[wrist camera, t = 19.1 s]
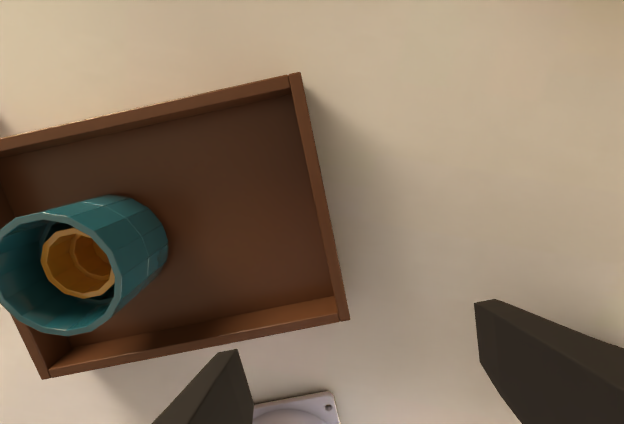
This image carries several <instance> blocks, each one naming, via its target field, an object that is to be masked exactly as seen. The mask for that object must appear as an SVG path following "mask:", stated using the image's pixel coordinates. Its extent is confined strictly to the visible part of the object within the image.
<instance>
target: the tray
mask: <svg viewBox="0 0 624 424" xmlns="http://www.w3.org/2000/svg"><path fill="white" fill-rule="evenodd" d="M108 194H113V195H119V196H124V197H130V198H132V199H134V200H136V201H138V202H139V203H141V204H143V205H144V206H146V207H148V208H149V209H150V210H151V211H152V212H153V213H154V214H155V215H156V216H157V218H158V219H159V220H160V222H161V223H162V225H163V227H164V230H165V232H166V236H167V239H168V255H167V261H166V263H165V265H164V267H163V268H162V270H161V272H160V274H159V275H158V276H157V277H156V278H155V279H154V280H153V281H152V282H151V283H150V284H148V285H147V286H146V287H145V288H144V289H143V290H142V291H141V292H139V293H138V294H137V295H136V296H135V297H134V298H133V299H132V300H131V301H129V302H128V303H127V304H126V305H125V306H124V307H123V308H122V309H120V310H119V311H118V312H117V313H116V314H115V315H114V316H113V317H112V318H110V319H109V320H108V321H106V322H105V323H103V324H102V325H100V326H99V327H98V328H96V329H95V330H93V331H91V332H87V333H82V334H77V335H72V336H61V335H54V334H48V333H42V332H39V331H37V330H35V329H33V328H31V327H29V326H27V325H25V324H24V323H22V322H20V321H18V320H17V319H16V318H15V317H14V316H12V315H11V316H12V318H13V320H14V322H15V324H16V327H17V329H18V331H19V333H20V335H21V337H22V339H23V341H24V343H25V345H26V347H27V350H28V352H29V354H30V356H31V358H32V360H33V362H34V364H35V366H36V368H37V371H38V373H39V375H40V377H41V379H42V380H43V379H49V378H54V377H59V376H64V375H69V374H74V373H80V372H85V371H90V370H95V369H100V368H105V367H110V366H115V365H121V364H126V363H131V362H136V361H141V360H146V359H151V358H156V357H162V356H167V355H172V354H177V353H182V352H187V351H192V350H197V349H203V348H208V347H213V346H218V345H223V344H228V343H233V342H238V341H244V340H249V339H254V338H259V337H264V336H269V335H274V334H280V333H285V332H290V331H295V330H300V329H305V328H310V327H315V326H321V325H326V324H331V323H336V322H340V321H346V320H350V314H349V309H348V305H347V300H346V295H345V290H344V285H343V280H342V275H341V270H340V265H339V260H338V255H337V250H336V245H335V240H334V235H333V230H332V225H331V220H330V216H329V211H328V206H327V201H326V196H325V191H324V186H323V181H322V176H321V171H320V166H319V161H318V156H317V151H316V146H315V141H314V136H313V131H312V126H311V122H310V117H309V112H308V107H307V102H306V97H305V92H304V87H303V82H302V77H301V73H300V72H296V73H292V74H289V75H283V76H278V77H274V78H269V79H265V80H260V81H256V82H251V83H247V84H243V85H238V86H234V87H229V88H225V89H220V90H216V91H211V92H207V93H202V94H198V95H193V96H189V97H184V98H180V99H175V100H171V101H166V102H162V103H157V104H153V105H148V106H144V107H139V108H135V109H130V110H126V111H121V112H117V113H112V114H108V115H103V116H99V117H94V118H90V119H85V120H81V121H76V122H72V123H67V124H63V125H58V126H54V127H49V128H45V129H40V130H36V131H31V132H27V133H22V134H18V135H13V136H9V137H4V138H0V229H1V228H3V227H4V226H5V225H7V224H8V223H9V222H10V221H12V220H13V219H14V218H16V217H20V216H24V215H28V214H31V213H35V212H39V211H43V210H47V209H51V208H55V207H59V206H63V205H66V204H70V203H74V202H78V201H82V200H86V199H90V198H94V197H99V196H103V195H108Z"/></svg>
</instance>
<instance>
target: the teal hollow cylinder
mask: <svg viewBox="0 0 624 424" xmlns="http://www.w3.org/2000/svg"><path fill="white" fill-rule="evenodd" d="M70 226H72V227H74V228H76V229H78V230H79V231H81V232H83V233H85V234H87V235H88V236H90V237H91V238H92V239H93V240H94V241H95V243H96V244H97V245H98V246H99V247H100V248H101V249H102V250H103V251H104V253H105V254H106V255H107V257H108V260H109V263H110V265H111V268H112V270H113V273H114V276H115V283H114V287H112V288H111V289H110V290H108V291H107V292H105V293H104V294H103V295H100V296H95V297H90V298H85V299H82V298H78V297H75V296H71V295H67V294H64V293H63V292H61V291H60V290H59V289H58V288H57V287H56V286H54V285H53V284H52V283H51V282H50V281H49V280H48V279H47V277H46V274H45V272H44V270H43V267H42V265H41V255H42V248H43V244H44V243H45V242H46V241H47V240H48V239H49V238H50V237H51V236H52V235H53V234H54V233H55V232H56V231H58V230H61V229H64V228H67V227H70ZM167 255H168V239H167V236H166V232H165V230H164V227H163V225H162V223H161V222H160V220H159V219H158V218H157V216H156V215H155V214H154V213H153V212H152V211H151V210H150V209H149V208H148V207H146V206H144V205H143V204H141V203H139V202H138V201H136V200H134V199H132V198H130V197H124V196H119V195H113V194H108V195H103V196H99V197H94V198H90V199H86V200H82V201H78V202H74V203H70V204H66V205H63V206H59V207H55V208H51V209H47V210H43V211H39V212H35V213H31V214H28V215H24V216H20V217H16V218H14V219H13V220H12V221H10V222H9V223H8V224H7V225H5V226H4V227H3V228H1V229H0V304H1V305H2V306H3V307H4V308H5V309H6V310H7V311H8V312H9V313H10V314H11V315H12V316H14V317H15V318H16V319H17V320H18V321H20V322H22V323H24V324H25V325H27V326H29V327H31V328H33V329H35V330H37V331H39V332H42V333H48V334H54V335H61V336H72V335H77V334H82V333H87V332H91V331H93V330H95V329H96V328H98V327H99V326H100V325H102V324H103V323H105V322H106V321H108V320H109V319H110V318H112V317H113V316H114V315H115V314H116V313H117V312H118V311H119V310H120V309H122V308H123V307H124V306H125V305H126V304H127V303H128V302H129V301H131V300H132V299H133V298H134V297H135V296H136V295H137V294H138V293H139V292H141V291H142V290H143V289H144V288H145V287H146V286H147V285H148V284H150V283H151V282H152V281H153V280H154V279H155V278H156V277H157V276H158V275H159V274H160V272H161V270H162V268H163V267H164V265H165V263H166V261H167Z"/></svg>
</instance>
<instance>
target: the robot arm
mask: <svg viewBox="0 0 624 424" xmlns="http://www.w3.org/2000/svg"><path fill="white" fill-rule="evenodd" d="M474 309H475V319H476V329H477V339H478V349H479V359H480V363H481V365H482V366H483V368H484V370H485V371H486V373H487V375H488V376H489V378H490V380H491V381H492V383H493V385H494V386H495V388H496V389H497V391H498V392H499V394H500V396H501V397H502V398H503V400H504V401H505V402H506V404H507V405H508V406H509V407H510V409H511V410H512V411H513V413H514V414H515V415H516V417H517V418H518V419H519V420H520V422H521V423H522V424H624V349H623V348H620V347H617V346H614V345H612V344H609V343H606V342H603V341H601V340H598V339H595V338H593V337H590V336H587V335H585V334H582V333H580V332H577V331H574V330H572V329H569V328H567V327H564V326H562V325H559V324H557V323H554V322H552V321H550V320H547V319H545V318H542V317H540V316H537V315H535V314H532V313H530V312H528V311H525V310H523V309H520V308H518V307H515V306H513V305H510V304H508V303H505V302H502V301H499V300H496V299H492V300H487V301H481V302H476V303H474ZM326 405H330V406H326ZM152 424H340V421H339V416H338V412H337V408H336V403H335V399H334V395H333V394H332V393H331V392H329V391H325V392H319V393H314V394H309V395H303V396H298V397H293V398H287V399H282V400H277V401H272V402H266V403H261V404H256V405H254V403H253V399H252V396H251V393H250V389H249V386H248V383H247V379H246V376H245V373H244V369H243V366H242V363H241V359H240V356H239V353H238V349H234V350H229V351H224V352H219V353H217V354H216V355H215V356H214V357H213V358H212V359H211V360H210V361H209V362H208V363H207V364H206V365H205V367H204V368H203V369H202V370H201V371H200V372H199V373H198V374H197V375H196V377H195V378H194V379H193V380H192V381H191V382H190V383H189V384H188V385H187V386H186V388H185V389H184V390H183V391H182V392H181V393H180V394H179V395H178V396H177V397H176V398H175V400H174V401H173V402H172V403H171V404H170V405H169V406H168V407H167V408H166V409H165V410H164V411H163V412H162V413H161V414H160V415H159V416H158V417H157V418H156V420H155V421H154V422H153V423H152Z"/></svg>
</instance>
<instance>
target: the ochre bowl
mask: <svg viewBox="0 0 624 424" xmlns="http://www.w3.org/2000/svg"><path fill="white" fill-rule="evenodd" d="M41 265H42V267H43V270H44V272H45V274H46V277H47V279H48V280H49V281H50V282H51V283H52V284H53V285H54V286H56V287H57V288H58V289H59V290H60V291H61V292H63V293H64V294H67V295H71V296H75V297H78V298H82V299H85V298H90V297H95V296H100V295H103V294H104V293H105V292H107V291H108V290H110V289H111V288H112V287H114V283H115V276H114V273H113V270H112V268H111V265H110V263H109V260H108V257H107V255H106V254H105V253H104V251H103V250H102V249H101V248H100V247H99V246H98V245H97V244H96V243H95V241H94V240H93V239H92V238H91V237H90V236H88V235H87V234H85V233H83V232H81V231H79V230H78V229H76V228H74V227H72V226H70V227H67V228H64V229H61V230H58V231H56V232H55V233H54V234H53V235H52V236H51V237H50V238H49V239H48V240H47V241H46V242H45V243H44V244H43V248H42V255H41Z"/></svg>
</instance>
